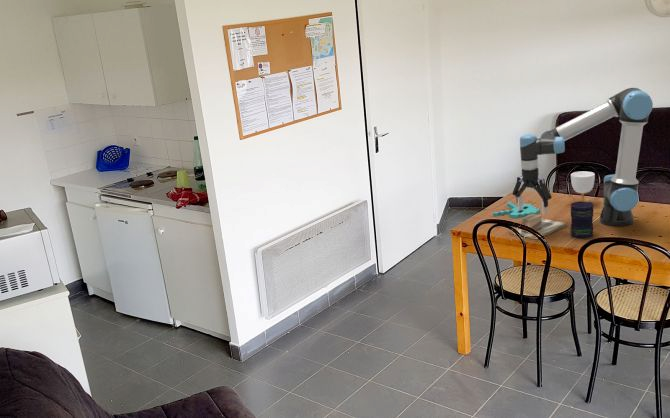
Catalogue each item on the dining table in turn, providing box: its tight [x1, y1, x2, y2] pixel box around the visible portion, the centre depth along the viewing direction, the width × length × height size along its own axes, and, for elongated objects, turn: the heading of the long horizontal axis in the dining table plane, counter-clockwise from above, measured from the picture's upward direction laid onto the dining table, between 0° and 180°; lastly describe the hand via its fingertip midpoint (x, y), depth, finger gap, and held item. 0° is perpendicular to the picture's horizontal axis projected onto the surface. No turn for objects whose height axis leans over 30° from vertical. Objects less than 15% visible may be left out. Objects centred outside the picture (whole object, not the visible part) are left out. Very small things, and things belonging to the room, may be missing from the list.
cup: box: [570, 170, 596, 202], centre depth 345 cm, size 12×12×17 cm
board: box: [508, 217, 567, 239], centre depth 319 cm, size 15×24×2 cm, turn 128°
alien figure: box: [492, 201, 541, 219], centre depth 348 cm, size 20×2×20 cm
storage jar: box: [570, 201, 594, 240], centre depth 304 cm, size 10×10×15 cm
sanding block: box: [520, 214, 542, 233], centre depth 315 cm, size 5×9×6 cm, turn 128°
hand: (532, 211), depth 313 cm, fingers open, 13 cm apart
